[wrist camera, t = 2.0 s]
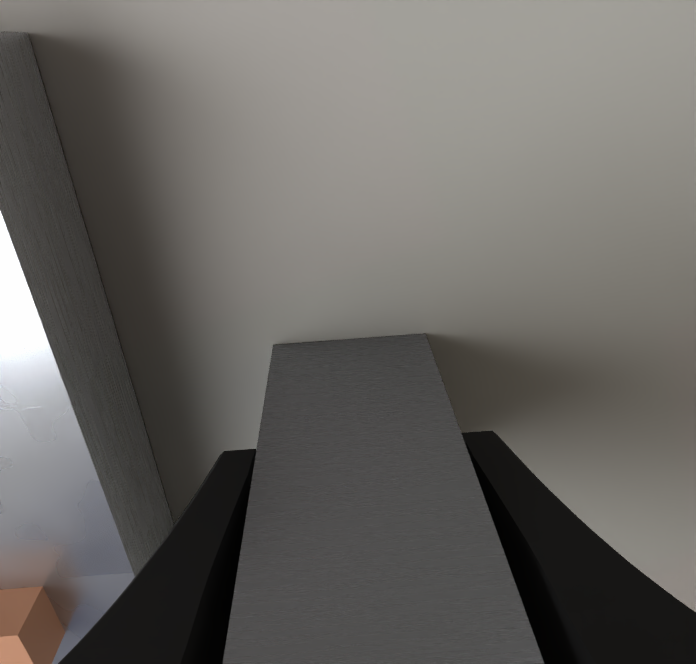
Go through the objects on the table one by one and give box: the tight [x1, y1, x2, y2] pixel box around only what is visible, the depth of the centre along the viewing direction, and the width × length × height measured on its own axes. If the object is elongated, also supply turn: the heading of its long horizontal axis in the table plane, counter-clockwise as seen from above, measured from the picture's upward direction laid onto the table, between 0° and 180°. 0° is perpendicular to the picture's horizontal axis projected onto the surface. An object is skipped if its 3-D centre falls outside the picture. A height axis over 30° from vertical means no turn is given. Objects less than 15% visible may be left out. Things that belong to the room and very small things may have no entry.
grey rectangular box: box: [223, 334, 544, 664], centre depth 9 cm, size 3×3×8 cm
